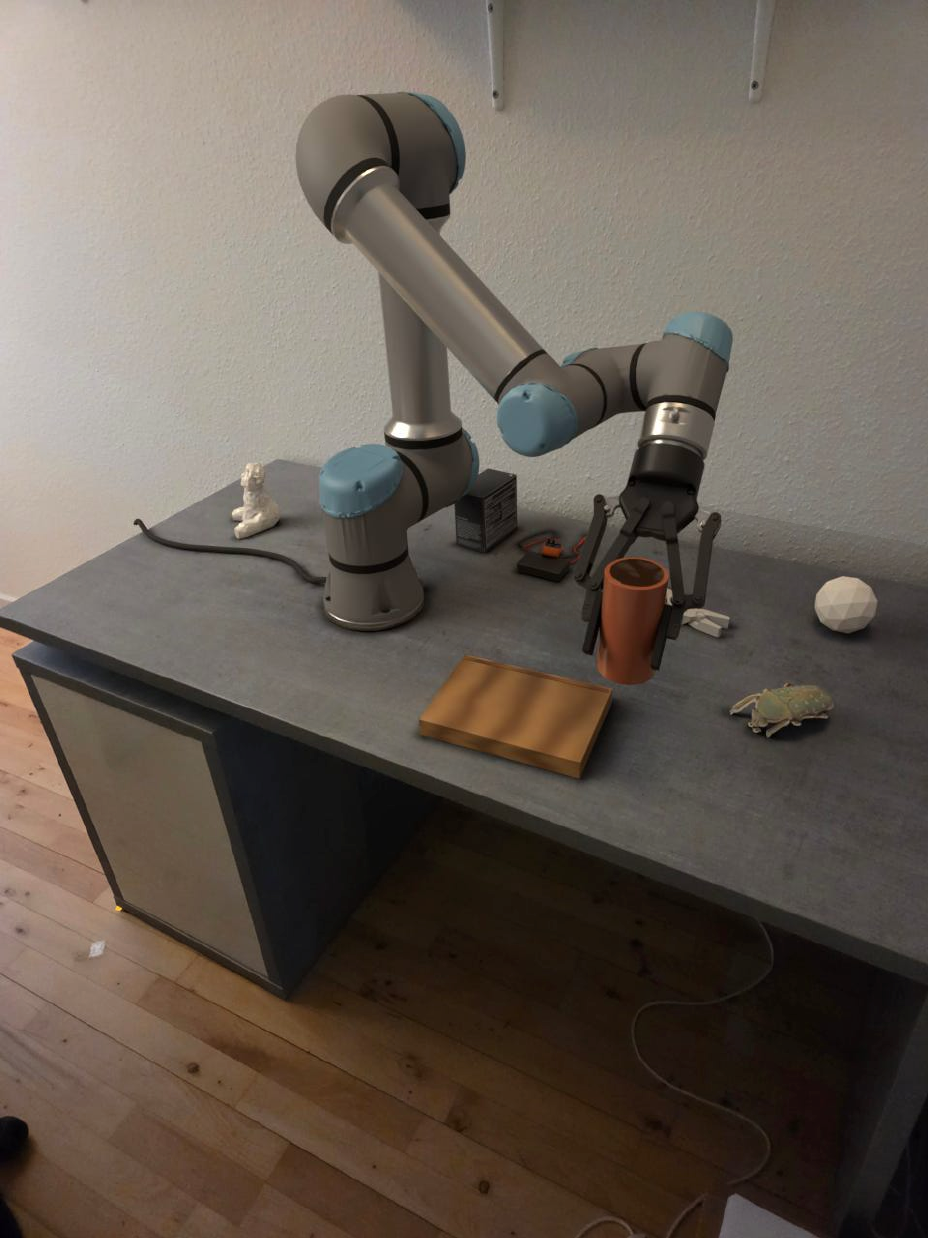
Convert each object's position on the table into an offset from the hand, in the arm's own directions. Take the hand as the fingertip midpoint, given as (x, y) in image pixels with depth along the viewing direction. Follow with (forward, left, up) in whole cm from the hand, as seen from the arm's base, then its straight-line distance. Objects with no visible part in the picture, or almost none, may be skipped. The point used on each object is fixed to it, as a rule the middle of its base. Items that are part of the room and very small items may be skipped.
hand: (620, 660), depth 82 cm
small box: (-34, +46, -15) cm, 60 cm away
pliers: (+1, +33, -15) cm, 37 cm away
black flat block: (-22, +45, -15) cm, 53 cm away
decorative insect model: (+17, +15, -15) cm, 27 cm away
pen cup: (0, +4, -3) cm, 5 cm away
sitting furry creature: (-75, +36, -15) cm, 85 cm away
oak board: (-13, +3, -15) cm, 20 cm away
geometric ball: (+23, +38, -15) cm, 47 cm away
